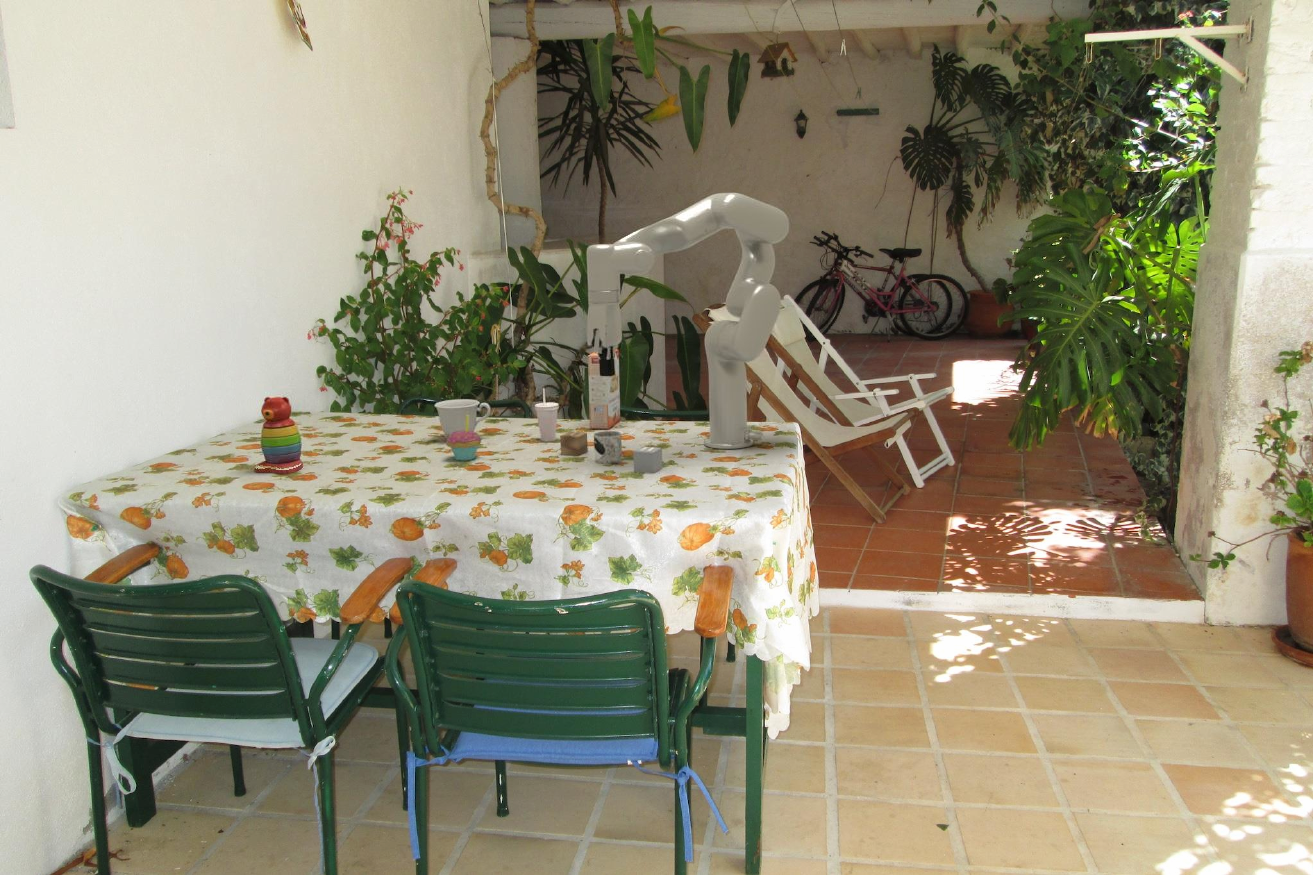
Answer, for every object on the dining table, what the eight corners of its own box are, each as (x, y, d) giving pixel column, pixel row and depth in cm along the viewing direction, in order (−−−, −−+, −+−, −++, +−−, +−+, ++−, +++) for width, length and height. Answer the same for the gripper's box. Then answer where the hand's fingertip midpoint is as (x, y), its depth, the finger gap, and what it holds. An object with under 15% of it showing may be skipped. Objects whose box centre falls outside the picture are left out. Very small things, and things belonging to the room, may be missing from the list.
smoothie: (536, 438, 283) (533, 387, 281) (560, 437, 284) (558, 386, 281) (536, 443, 277) (533, 390, 274) (560, 442, 278) (557, 389, 275)
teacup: (488, 443, 279) (485, 406, 277) (432, 444, 279) (429, 407, 277) (496, 433, 291) (493, 398, 289) (442, 435, 291) (439, 399, 289)
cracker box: (610, 430, 292) (607, 355, 287) (589, 429, 293) (586, 355, 288) (622, 420, 305) (619, 348, 301) (601, 419, 306) (599, 348, 302)
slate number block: (662, 468, 246) (661, 447, 245) (653, 473, 242) (653, 451, 241) (642, 467, 248) (642, 445, 247) (634, 472, 244) (633, 450, 243)
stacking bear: (250, 472, 254) (242, 400, 250) (278, 462, 264) (271, 392, 260) (287, 475, 251) (279, 401, 247) (314, 465, 260) (307, 394, 256)
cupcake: (488, 456, 264) (485, 409, 262) (469, 463, 256) (466, 415, 254) (460, 453, 268) (457, 407, 265) (440, 461, 260) (436, 413, 258)
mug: (590, 459, 257) (589, 433, 256) (616, 456, 260) (615, 430, 258) (605, 468, 248) (604, 440, 247) (631, 464, 251) (630, 437, 249)
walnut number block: (587, 452, 266) (587, 432, 265) (578, 456, 261) (577, 436, 260) (570, 450, 268) (569, 431, 267) (561, 455, 263) (560, 435, 262)
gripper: (603, 295, 254) (606, 370, 258) (575, 300, 240) (578, 380, 244) (632, 295, 251) (634, 371, 255) (604, 300, 238) (608, 381, 241)
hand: (607, 375), depth 250 cm, fingers closed
